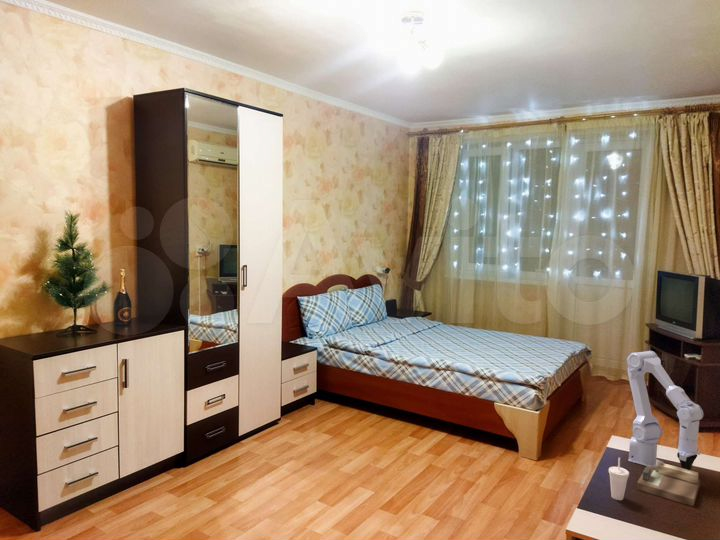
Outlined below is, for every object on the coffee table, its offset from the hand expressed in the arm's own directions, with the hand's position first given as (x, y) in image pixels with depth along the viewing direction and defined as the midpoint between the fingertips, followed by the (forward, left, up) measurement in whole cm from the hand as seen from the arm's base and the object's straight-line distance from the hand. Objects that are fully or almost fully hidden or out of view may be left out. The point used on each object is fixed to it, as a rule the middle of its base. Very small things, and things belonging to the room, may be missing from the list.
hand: (685, 473), depth 188 cm
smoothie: (-17, -28, -4) cm, 33 cm away
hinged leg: (-3, -4, -1) cm, 4 cm away
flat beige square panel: (-4, -9, -3) cm, 10 cm away
